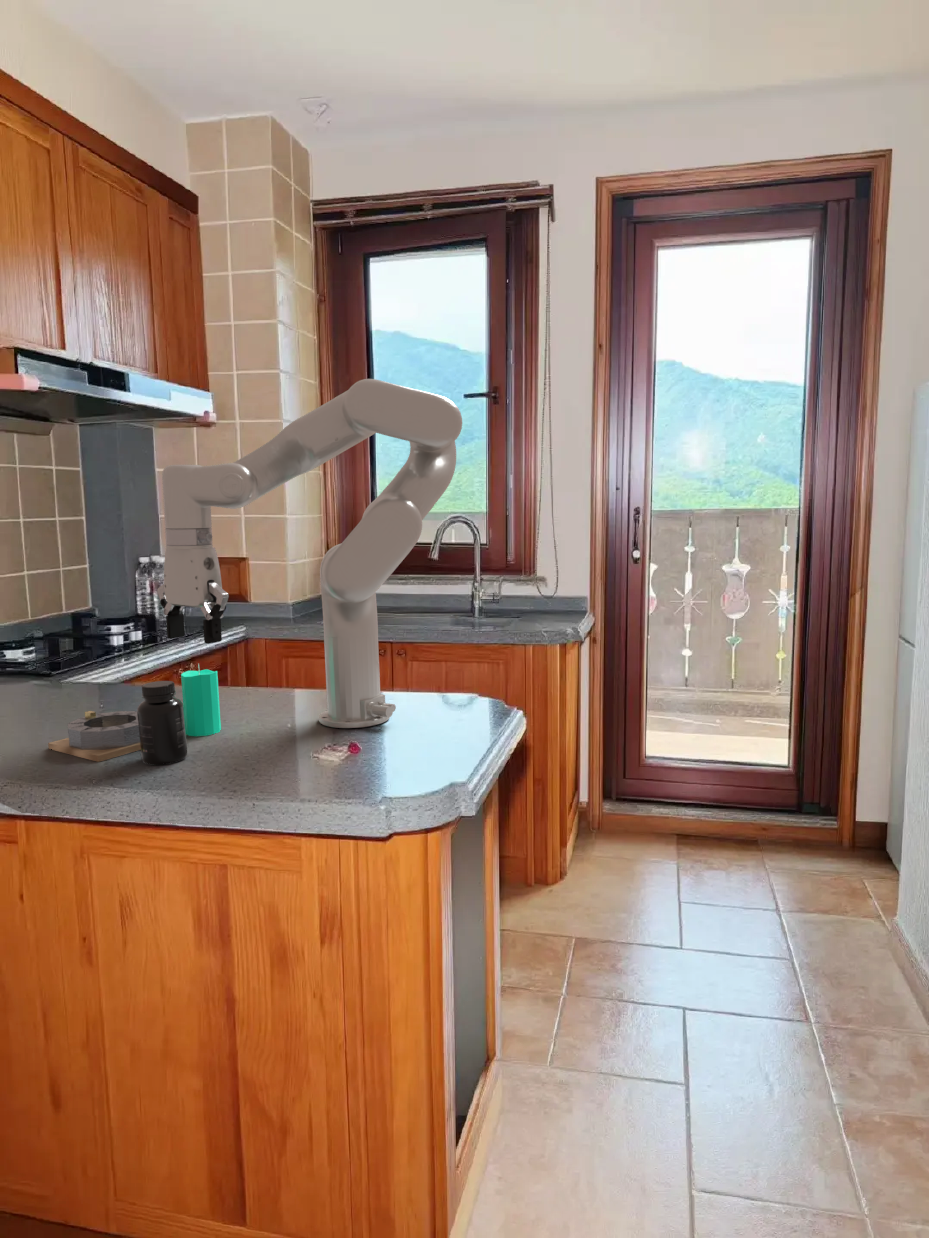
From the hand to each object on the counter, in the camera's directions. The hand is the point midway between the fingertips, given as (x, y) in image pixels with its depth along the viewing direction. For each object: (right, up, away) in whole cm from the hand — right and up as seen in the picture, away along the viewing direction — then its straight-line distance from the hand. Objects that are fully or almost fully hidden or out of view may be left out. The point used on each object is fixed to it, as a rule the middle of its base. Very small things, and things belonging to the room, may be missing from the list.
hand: (194, 639), depth 150 cm
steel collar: (-12, -17, -4) cm, 22 cm away
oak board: (-12, -17, -4) cm, 22 cm away
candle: (+1, -16, +2) cm, 16 cm away
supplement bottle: (-1, -19, -13) cm, 23 cm away
